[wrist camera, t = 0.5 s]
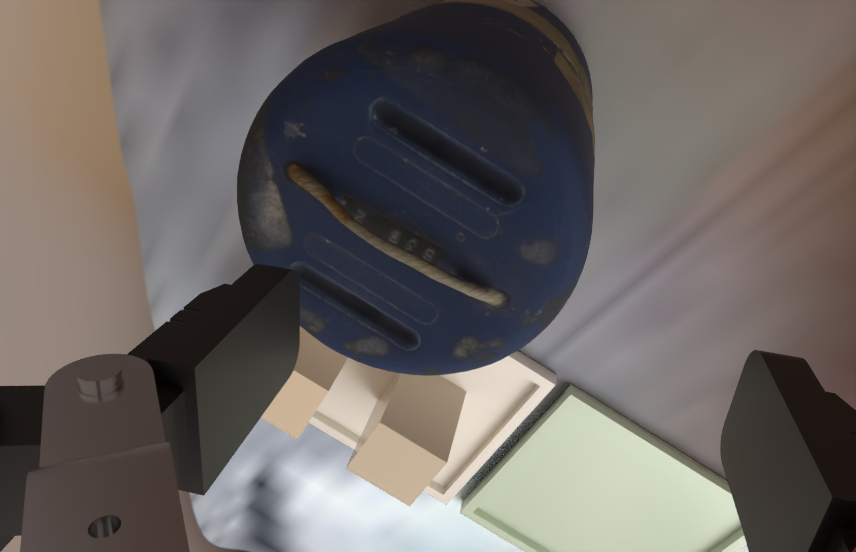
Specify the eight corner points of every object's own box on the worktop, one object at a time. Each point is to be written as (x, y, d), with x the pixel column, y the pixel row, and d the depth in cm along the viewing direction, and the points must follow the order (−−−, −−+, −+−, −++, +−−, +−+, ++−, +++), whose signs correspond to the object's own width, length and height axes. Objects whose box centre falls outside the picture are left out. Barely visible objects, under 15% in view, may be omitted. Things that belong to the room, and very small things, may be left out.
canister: (485, 228, 34) (396, 476, 18) (352, 93, 32) (130, 240, 17) (638, 98, 30) (691, 280, 14) (493, -65, 28) (368, -68, 12)
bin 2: (571, 383, 37) (570, 394, 36) (772, 509, 38) (777, 522, 37) (462, 501, 43) (459, 512, 42) (639, 607, 44) (640, 620, 43)
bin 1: (297, 213, 36) (290, 220, 35) (556, 374, 37) (555, 385, 36) (224, 358, 42) (216, 366, 41) (449, 493, 43) (446, 504, 42)
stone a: (305, 292, 38) (259, 349, 33) (364, 329, 38) (328, 391, 33) (279, 339, 40) (231, 400, 35) (335, 373, 40) (297, 439, 35)
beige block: (408, 356, 38) (379, 422, 33) (466, 391, 38) (446, 462, 33) (377, 399, 40) (345, 468, 35) (433, 432, 40) (409, 506, 35)
